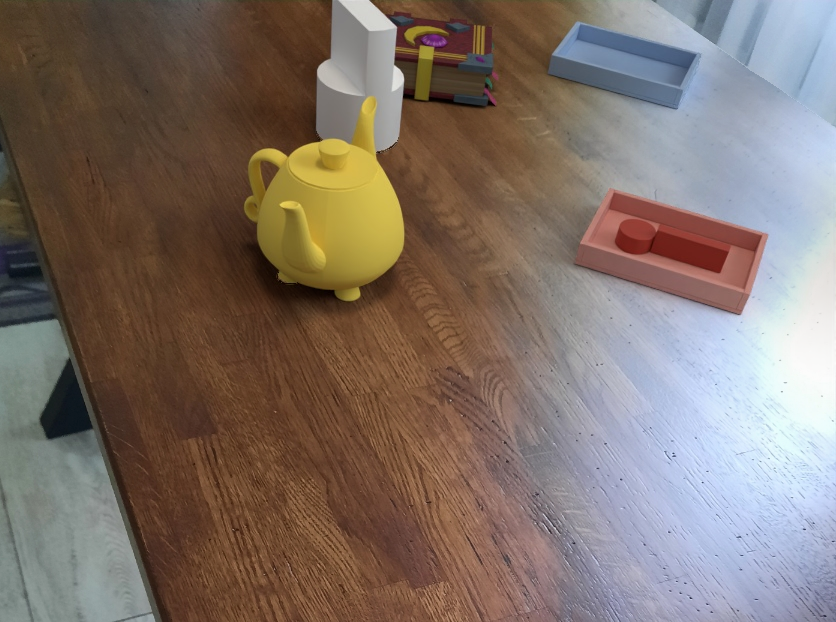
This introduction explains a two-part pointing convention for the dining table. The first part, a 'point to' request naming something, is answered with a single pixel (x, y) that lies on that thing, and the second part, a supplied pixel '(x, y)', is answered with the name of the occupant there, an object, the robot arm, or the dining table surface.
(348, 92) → the base with upright slab
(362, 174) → the teapot
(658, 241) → the red spoon
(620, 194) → the pink tray
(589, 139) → the dining table surface
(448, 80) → the decorative book
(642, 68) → the blue tray
